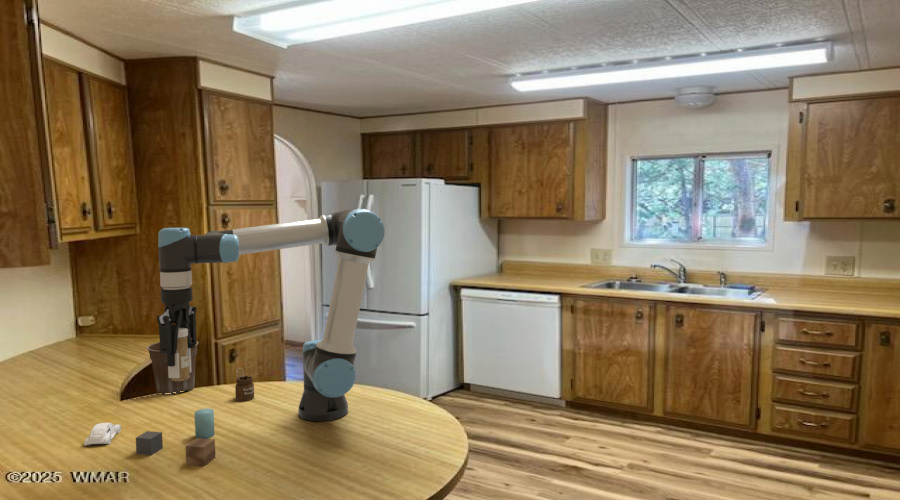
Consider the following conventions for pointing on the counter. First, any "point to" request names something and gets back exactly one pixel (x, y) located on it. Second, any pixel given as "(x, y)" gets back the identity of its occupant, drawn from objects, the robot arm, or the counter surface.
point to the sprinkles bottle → (182, 355)
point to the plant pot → (161, 371)
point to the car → (102, 434)
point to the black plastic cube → (149, 443)
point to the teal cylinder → (204, 423)
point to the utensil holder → (244, 386)
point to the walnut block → (200, 452)
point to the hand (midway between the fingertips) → (180, 374)
